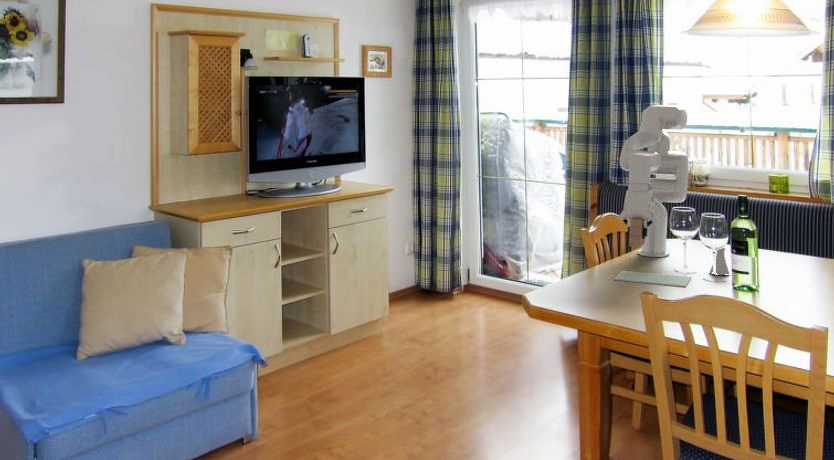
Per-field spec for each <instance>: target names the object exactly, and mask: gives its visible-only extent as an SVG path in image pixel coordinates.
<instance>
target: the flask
mask: <svg viewBox="0 0 834 460" xmlns="http://www.w3.org/2000/svg"><path fill="white" fill-rule="evenodd" d="M725 250H726V248H725V247H724V248H722V249H719V250H717V249H716V256H715V258H716V273H717V274H718V275H725V274H729V275H730V272H729V269H728V268H729V267H728V265H727V261H726V257H725ZM709 272H710V273H712V272H713V264H712V266H711V268H710V270H709Z"/></svg>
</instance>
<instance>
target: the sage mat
mask: <svg viewBox="0 0 834 460" xmlns="http://www.w3.org/2000/svg"><path fill="white" fill-rule="evenodd" d="M613 280H614V281H618V280H619V281H620V282H628V283H629V282H631V283H639V284H640V283H641V284H649V285H658V286H659V285H660V286H670V287H679V288H681V287H682V288H686V287H687V286H688V284H689V283H690V282H691V280H692V277H691V276H682V275H672V274H671V275H670V274H661V273H651V272H640V271H630V270H629V271H628V270H621V271H620V272H619V273H618V274H616V276H615V277H614V278H613Z"/></svg>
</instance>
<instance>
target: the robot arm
mask: <svg viewBox="0 0 834 460" xmlns="http://www.w3.org/2000/svg"><path fill="white" fill-rule="evenodd" d="M687 121H688V113H687V111H686V109H685V108H684V107H683V106H680V105H673V104H671V105H669V104H665V105H663V104H661V105H658V104H655V105H649V106H648V107H647V108H646V109H644V110H643V111H642V113H641V123H640V127H639V131H637V132H635V133H634V134H633V135H631V136H630V137H628V138H627V139H626V140H625V141H624V143H623V144H622V148H621V152H620V156H619V166H620V168H621V169H622V170H623V171H626V172H628V190H626V192H625V195H624V196H625V197H624V203H623V210H622V211H621V212H620V214H619V215H618V217H617V218H618V219H619V220H621V221H622V222H623V223H624V224H625V225H626V228H627V236H628V238H629V239H630V220H631V219H632V218H636V219H643V224H644V226H643V229H642V238H643V239H644V238H645V243H644V244H643V245H642V246H641V248H640V249H637V254H638V255H639V256H643V257H649V258H651V257H652V258H663V257H668V256H669V255H671V254H670V251H669V250H667V233H668V232H667V228H668V211H667V208H666V207H665V206H664V205H663V203H677V204H678V203H683V202H684V201H686V199H687V195H688V184H689V183H688V179H689V157H688V155H687V154H686V153H685V152H681V151H671V138H670V136H669V135H668V133H667V132H666V130H683V129H684V128H685V127H686V126H687V123H688V122H687ZM645 148H647V150H642V149H645ZM651 175H654V176H657V175H658V176H674V177H675V178H665V177H664V178H663V177H662V178H661V177H656V178H655V177H651Z"/></svg>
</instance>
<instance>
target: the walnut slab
mask: <svg viewBox="0 0 834 460" xmlns="http://www.w3.org/2000/svg"><path fill="white" fill-rule="evenodd" d="M643 226H644V224H643V219H636V218H632V219H631V220H630V238H629V247H630V248H631V247H632V248H634V247H635V248H642V245H643V244H644V243H645V238H644V239H643V238H642V229H643Z"/></svg>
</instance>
